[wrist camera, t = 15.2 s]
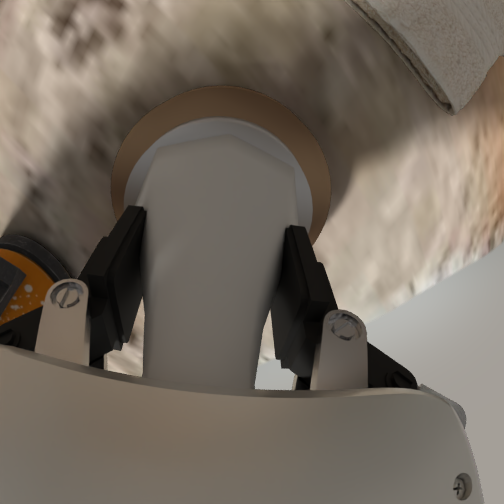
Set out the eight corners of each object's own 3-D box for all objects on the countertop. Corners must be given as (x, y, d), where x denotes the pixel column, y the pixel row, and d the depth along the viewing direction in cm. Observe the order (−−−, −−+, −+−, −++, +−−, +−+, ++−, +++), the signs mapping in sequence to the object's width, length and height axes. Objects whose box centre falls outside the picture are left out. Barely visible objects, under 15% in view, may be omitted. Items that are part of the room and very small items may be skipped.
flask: (278, 284, 15) (304, 484, 7) (138, 266, 14) (80, 461, 6) (319, 149, 11) (465, 374, 3) (139, 122, 10) (-54, 313, 2)
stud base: (127, 79, 12) (98, 86, 9) (343, 109, 13) (370, 122, 11) (128, 256, 18) (111, 292, 15) (294, 275, 20) (302, 314, 17)
